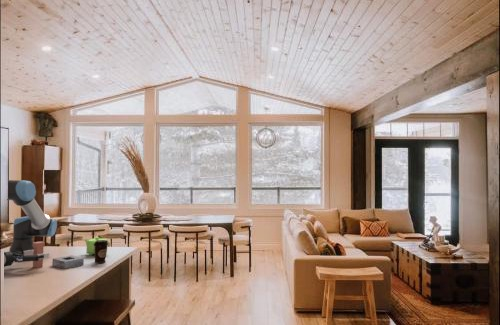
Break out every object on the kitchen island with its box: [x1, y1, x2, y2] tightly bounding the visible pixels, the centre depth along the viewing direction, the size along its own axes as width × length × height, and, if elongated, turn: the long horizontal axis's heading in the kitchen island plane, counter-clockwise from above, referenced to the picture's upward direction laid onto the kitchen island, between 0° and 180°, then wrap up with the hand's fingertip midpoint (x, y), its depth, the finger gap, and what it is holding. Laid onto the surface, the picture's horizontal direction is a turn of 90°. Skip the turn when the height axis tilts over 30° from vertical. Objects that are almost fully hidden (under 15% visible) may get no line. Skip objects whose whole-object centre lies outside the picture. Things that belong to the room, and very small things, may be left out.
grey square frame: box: [51, 255, 85, 270], centre depth 233 cm, size 12×12×4 cm
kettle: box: [83, 236, 110, 256], centre depth 265 cm, size 15×14×11 cm
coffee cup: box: [93, 239, 109, 264], centre depth 244 cm, size 9×8×13 cm
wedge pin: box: [32, 240, 46, 269], centre depth 227 cm, size 4×5×14 cm
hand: (41, 253), depth 228 cm, fingers open, 13 cm apart
